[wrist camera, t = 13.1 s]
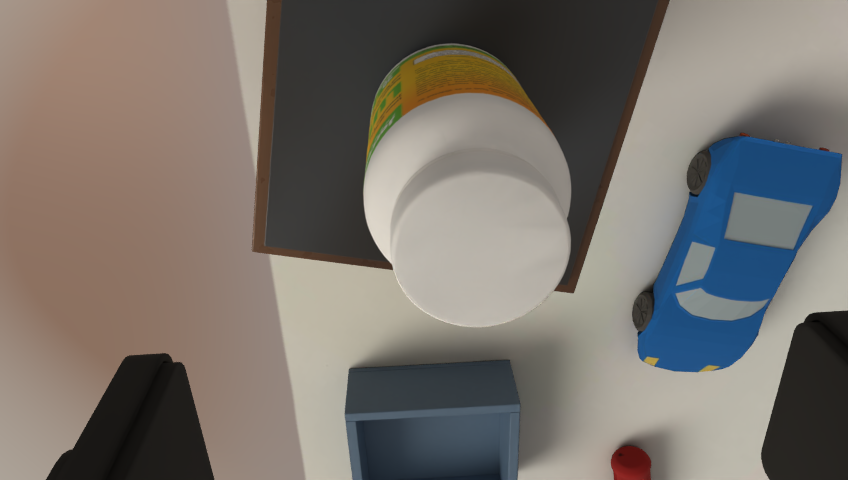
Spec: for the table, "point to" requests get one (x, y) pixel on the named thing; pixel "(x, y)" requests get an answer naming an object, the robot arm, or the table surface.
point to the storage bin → (433, 422)
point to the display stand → (381, 51)
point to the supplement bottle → (466, 188)
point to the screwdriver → (631, 464)
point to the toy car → (732, 249)
